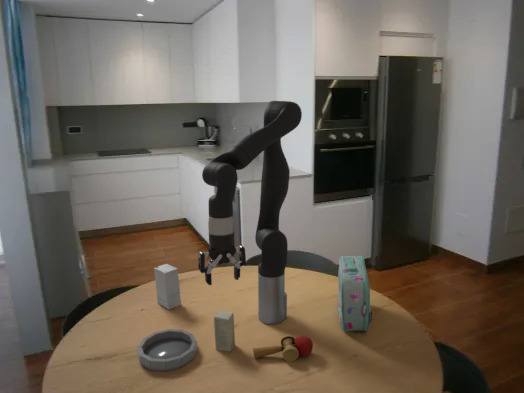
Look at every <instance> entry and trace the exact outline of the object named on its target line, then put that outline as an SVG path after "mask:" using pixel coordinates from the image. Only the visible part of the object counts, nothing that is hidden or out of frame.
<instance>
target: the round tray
mask: <svg viewBox="0 0 524 393" xmlns="http://www.w3.org/2000/svg"><path fill="white" fill-rule="evenodd" d="M197 343H198V341H197V339H196V338H195V336H194V334H193V333H191V332H189V331H187V330H184V329H175V328H173V329H171V328H167V329H164V330H159V331H155V332H153V333H151V334H149V335H147V336H146V337H144V338H143V339H142V340H140V343H139V344H138V346H137V354H138V362H139V364H140V365H141V366H142V367H143V368H144V369H147V370H149V371H153V372H168V371H169V372H170V371H175V370H177V369H180V368H183V367H185V366H187V365H188V364H189V363H190V362H192V361H193V360H194V358H195V357H196V355H197V351H198V350H197V349H198V344H197Z"/></svg>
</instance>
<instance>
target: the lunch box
mask: <svg viewBox="0 0 524 393" xmlns="http://www.w3.org/2000/svg"><path fill="white" fill-rule="evenodd" d="M365 263H366V262H365V258H364V255H363V256H362V255H357V256H356V255H351V256H350V255H346V256H345V255H341V256H340V258H339V260H338V274H337V277H338V278H337V285H338V286H337V288H338V295H337V305H336V306H337V314H338V321H339V325H340V327H341V329H342V331H344V332H349V331H350V332H351V331H352V332H354V331H364V332H367V331H369V328H370V325H371V324H372V319H373V318H372V316H373V311H371V285H370V282H369V276H368V271H367V268H366V264H365Z"/></svg>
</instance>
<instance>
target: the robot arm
mask: <svg viewBox="0 0 524 393" xmlns="http://www.w3.org/2000/svg"><path fill="white" fill-rule="evenodd" d="M302 113H303V112H302V108H301V106H300V105H299V104H298V103H297V102H295V101H294V102H293V101H289V100H288V101H287V100H272V101H270V102H268V103H267V105H266V107H265V109H264V112H263V127H262V128H260V129H257V130H255V131H253V132H251V133H249V134H246V135H245V136H244V137H243V138H241V139H240V140H239V141H237V142H236V143H235V144H234V145H233V146H232V147H230V149H228V150H227V151H225V152H224V153H221V154H220V155H219V154H218V155H217V156H216V157H214V158H212V159H211V160H210V161H208V163H206V165H205V166H204V168H203V170H202V173H201V176H202V180H203V182H204V183H205V184H206V185H208V186H210V187H215V188H216V193H215V194H213V195H211V196H210V197H209V198H208V221H207V222H208V229H207V230H208V245H209V246H208V250H207V251H202V250H199V251H198V259H197V260H198V263H197V264H198V267H197V269H198V271H199V272H200V273H201V274H204V280H205V282H206V284H207V285H208V286H212V285H213V284H212V283H213V282H212V271H213V269H216V268H215V267H217V265H222V264H229V263H232V264H233V278H234V280H236V281H238V280H240V277H241V267H242V266H244V267H245V266H246V264H247V259H246V256H247V255H246V248H245V246H244V245H242V244H239V245H238V246H235V242H236V241H235V221H234V203H233V202H234V198H235V194H236V189H237V186H238V179H239V177H238V171H240V170H243V169H245V168H247V167H248V166H249V165H250V164H251V163H252V162H253V161H254V160H255V159H256V158H257V157H258V156H259V155H260V154H261V153H262V152H263V155H262V156H263V159H262V160H263V161H262V170H261V179H260V180H261V183H260V197H259V198H260V200H259V213H258V214H259V215H258V221H257V224H256V225H257V226H256V231H255V243H256V245H257V246H256V247H257V248H259V250H260V251H261V262H260V263H258V266H257V273H258V274H257V279H258V280H257V281H258V283H257V284H258V285H257V287H258V289H257V290H258V293H257V294H258V299H257V300H258V309H257V312H258V314H257V315H258V320H259V321H260V322H261V323H263V324H267V325H276V324H279V323H282V322H283V321H285V320H286V319H288V318H287V316H288V311H287V310H288V306H287V305H288V294H287V293H286V292H285V288H286V287H285V286H286V285H285V284H286V283H285V282H286V281H285V280H286V279H285V277H286V276H285V274H286V273H285V272H286V270H285V269H286V267H287V264H288V250H289V249H288V246H289V245H288V238H287V237H286V235H285V233H283V232H282V230H280V213H281V209H282V206H283V204H284V202H285V199H286V197H287V195H288V192H289V191H288V190H289V184H290V167H289V163H288V161H287V158H286V156H285V153H284V151H283V146H282V142H281V141H282V140H281V139H282V138H283V137H285V136H287V135H288V134H289V133H291V132H292V131H294V130H295V129H296V128H297V127H298V126H299V125H300V123H301V120H302V116H303V114H302ZM236 252H237V253H238V260H239V261H237V260H236V259H235V257H234V256H235V254H236ZM208 257H210V258H209V259H208V261H207V263H206V262H205V261H206V260H207V258H208ZM205 264H206V265H205Z"/></svg>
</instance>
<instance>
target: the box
mask: <svg viewBox="0 0 524 393" xmlns="http://www.w3.org/2000/svg"><path fill="white" fill-rule="evenodd" d="M213 325H214V327H213V328H214V342H215V350H218V351H224V352H231V351H232V350H233V348H234V347H235V345H236V337H235V317H234V312H230V311H229V312H228V311H223V310H219V311H218V312H217V313H216V314H214V316H213Z"/></svg>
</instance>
